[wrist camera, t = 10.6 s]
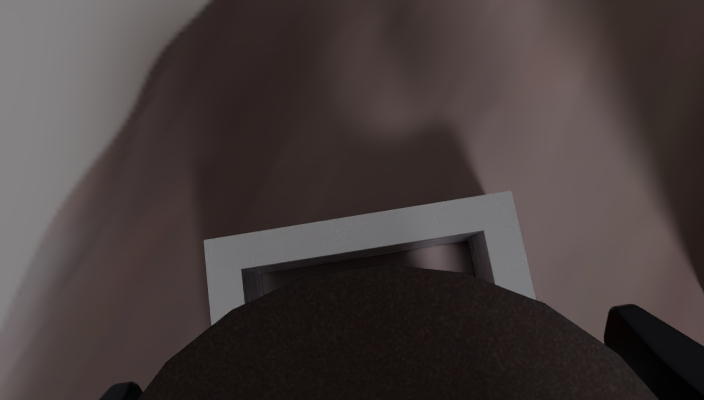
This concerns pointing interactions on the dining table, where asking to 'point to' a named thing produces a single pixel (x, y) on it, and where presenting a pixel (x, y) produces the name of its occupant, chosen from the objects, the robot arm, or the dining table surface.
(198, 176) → the dining table surface
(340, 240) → the collar
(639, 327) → the robot arm
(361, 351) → the deodorant
